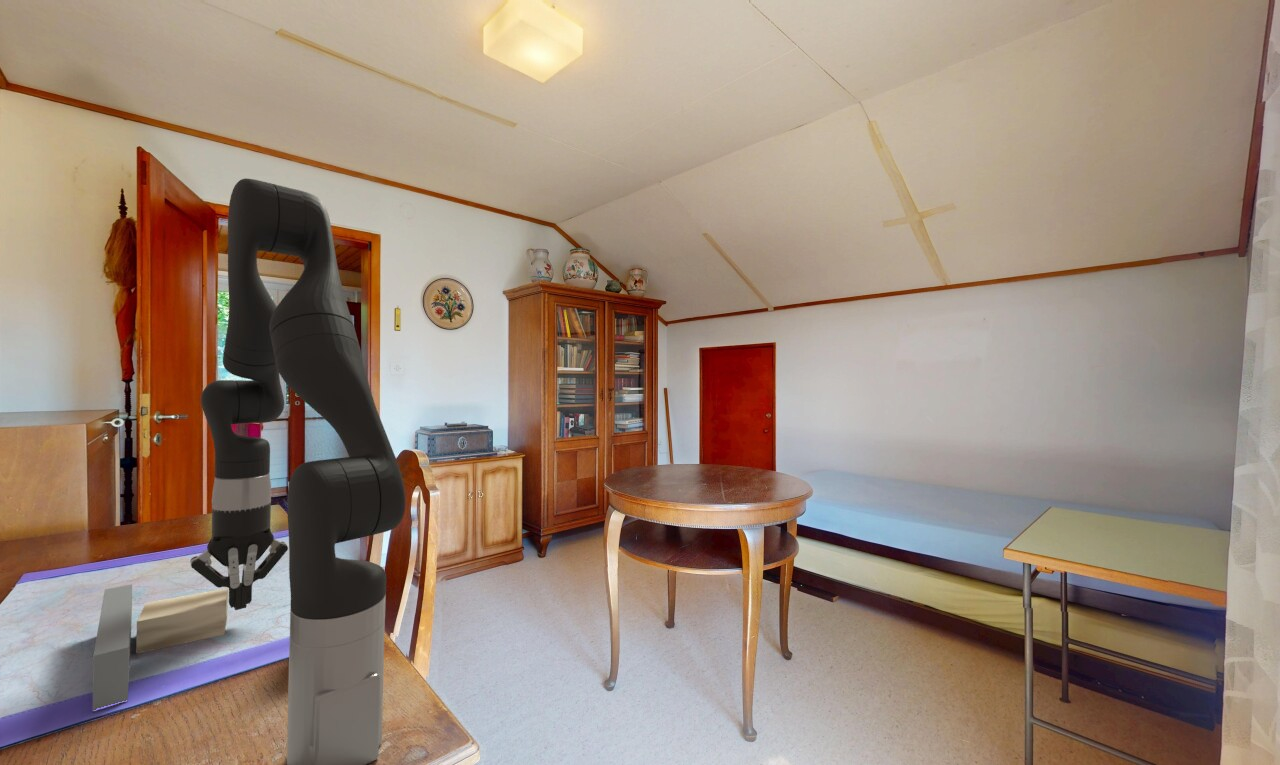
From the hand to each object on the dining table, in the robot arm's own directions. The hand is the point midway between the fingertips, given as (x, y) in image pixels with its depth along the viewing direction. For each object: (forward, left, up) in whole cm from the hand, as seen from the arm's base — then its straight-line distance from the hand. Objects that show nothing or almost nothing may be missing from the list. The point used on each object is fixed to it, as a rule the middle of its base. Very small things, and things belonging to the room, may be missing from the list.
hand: (240, 607), depth 82 cm
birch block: (+3, +7, -3) cm, 8 cm away
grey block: (-2, +14, -3) cm, 15 cm away
